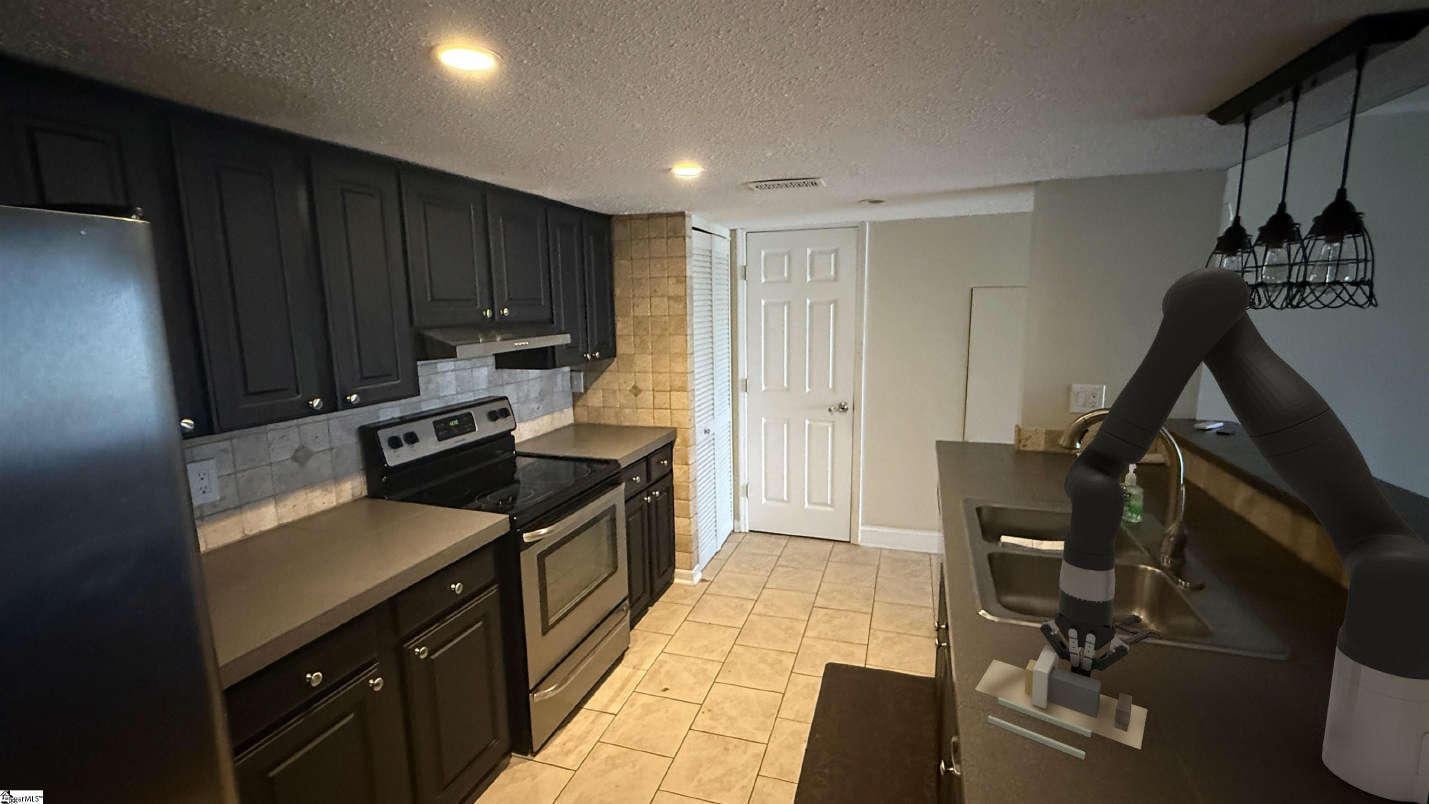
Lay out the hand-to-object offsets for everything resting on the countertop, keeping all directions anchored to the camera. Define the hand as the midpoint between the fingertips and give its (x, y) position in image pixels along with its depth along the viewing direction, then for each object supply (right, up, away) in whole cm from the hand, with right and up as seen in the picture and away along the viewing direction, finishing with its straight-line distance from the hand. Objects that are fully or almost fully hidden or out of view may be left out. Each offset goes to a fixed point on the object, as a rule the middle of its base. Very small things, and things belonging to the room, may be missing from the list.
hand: (1080, 685), depth 99 cm
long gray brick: (-4, -2, -2) cm, 4 cm away
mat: (-11, -4, -8) cm, 14 cm away
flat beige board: (-4, -2, -1) cm, 5 cm away
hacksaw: (+17, 0, +15) cm, 23 cm away
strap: (-6, -2, 0) cm, 6 cm away
